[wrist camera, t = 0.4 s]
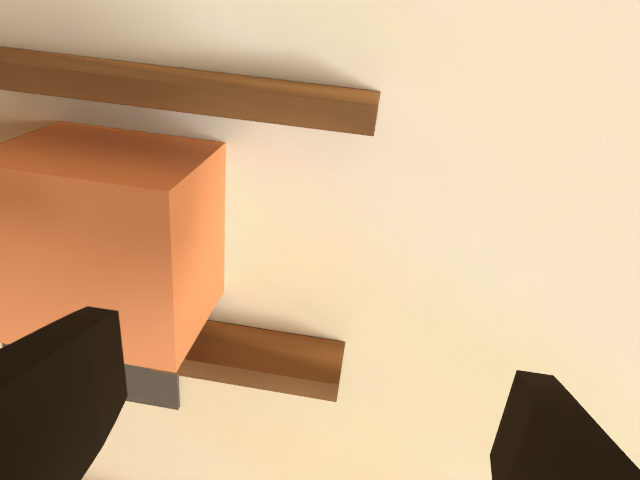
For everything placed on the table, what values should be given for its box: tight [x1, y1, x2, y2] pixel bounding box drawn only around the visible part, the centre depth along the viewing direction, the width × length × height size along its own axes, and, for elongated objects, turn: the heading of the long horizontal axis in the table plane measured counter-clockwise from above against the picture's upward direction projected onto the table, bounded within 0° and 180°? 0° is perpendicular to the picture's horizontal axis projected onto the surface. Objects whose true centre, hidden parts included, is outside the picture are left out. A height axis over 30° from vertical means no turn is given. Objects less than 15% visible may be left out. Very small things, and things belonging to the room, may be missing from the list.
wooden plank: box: [0, 47, 380, 402], centre depth 18 cm, size 11×25×2 cm, turn 85°
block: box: [0, 121, 226, 373], centre depth 17 cm, size 6×6×5 cm
